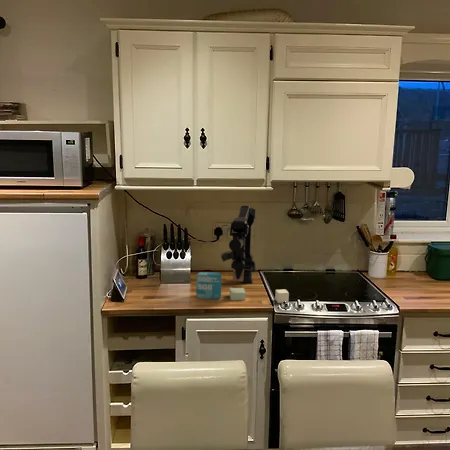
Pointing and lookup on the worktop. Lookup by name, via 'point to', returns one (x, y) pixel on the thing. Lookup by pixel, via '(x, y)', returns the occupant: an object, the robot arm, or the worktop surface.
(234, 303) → the worktop surface
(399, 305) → the worktop surface
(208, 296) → the data package
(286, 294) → the offwhite cube
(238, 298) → the sage base block
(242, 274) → the walnut cube
